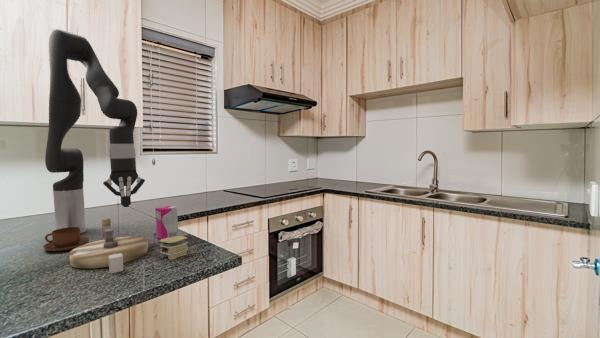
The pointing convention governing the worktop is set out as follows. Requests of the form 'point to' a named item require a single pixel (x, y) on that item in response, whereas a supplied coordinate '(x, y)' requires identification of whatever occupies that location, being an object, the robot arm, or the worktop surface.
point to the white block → (115, 263)
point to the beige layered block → (174, 247)
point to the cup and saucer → (65, 239)
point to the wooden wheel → (107, 249)
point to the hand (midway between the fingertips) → (126, 206)
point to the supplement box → (166, 222)
